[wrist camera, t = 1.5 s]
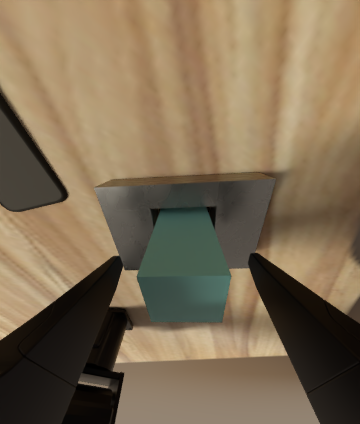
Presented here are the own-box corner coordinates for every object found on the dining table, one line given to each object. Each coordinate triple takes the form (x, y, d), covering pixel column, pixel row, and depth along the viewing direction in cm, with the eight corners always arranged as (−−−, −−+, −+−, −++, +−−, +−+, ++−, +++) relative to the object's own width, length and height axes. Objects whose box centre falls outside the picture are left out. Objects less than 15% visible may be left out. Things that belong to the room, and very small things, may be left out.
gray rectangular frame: (240, 250, 15) (250, 268, 13) (133, 252, 16) (125, 270, 14) (257, 172, 11) (276, 178, 9) (111, 179, 12) (93, 187, 9)
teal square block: (202, 234, 14) (222, 322, 7) (167, 235, 14) (151, 322, 7) (203, 200, 12) (231, 275, 5) (163, 202, 13) (136, 276, 5)
